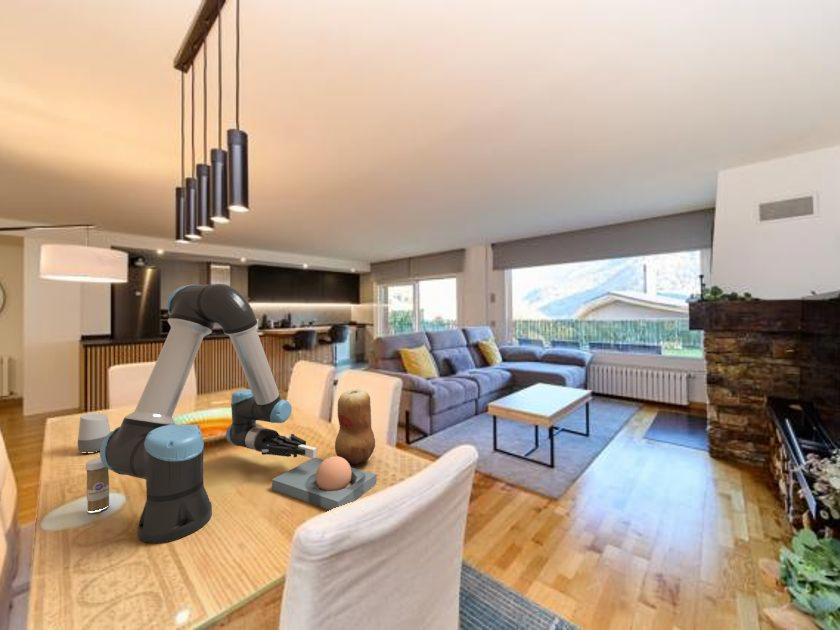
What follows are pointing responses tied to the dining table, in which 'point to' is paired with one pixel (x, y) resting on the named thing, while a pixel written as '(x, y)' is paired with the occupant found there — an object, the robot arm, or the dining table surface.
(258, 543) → the dining table surface
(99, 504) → the sprinkles bottle
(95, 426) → the smart speaker
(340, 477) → the ball
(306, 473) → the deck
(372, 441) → the butternut squash
